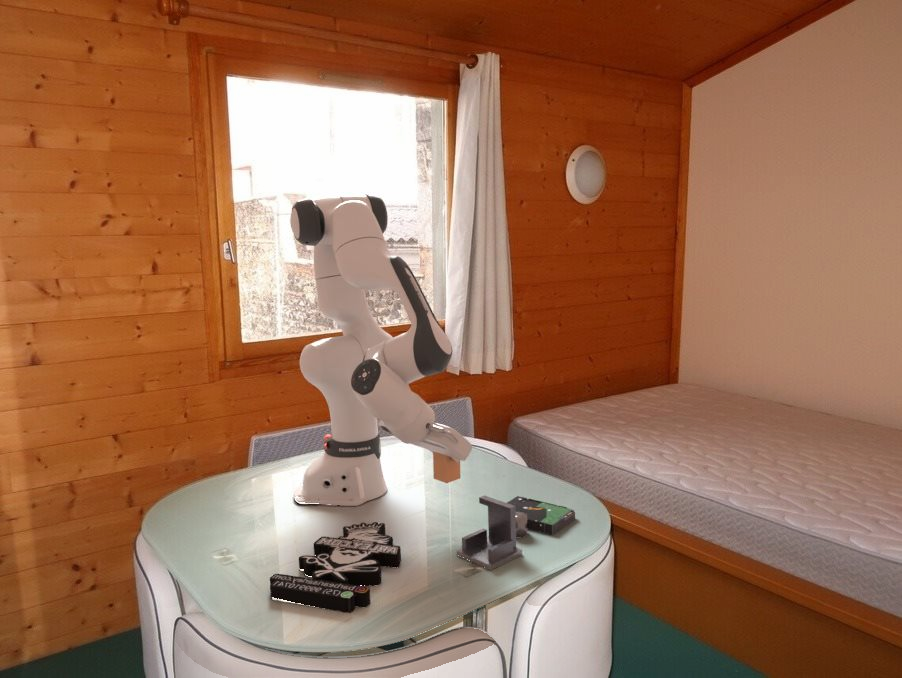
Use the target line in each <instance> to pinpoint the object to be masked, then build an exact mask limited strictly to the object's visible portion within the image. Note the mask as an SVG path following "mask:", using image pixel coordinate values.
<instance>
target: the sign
mask: <svg viewBox="0 0 902 678" xmlns="http://www.w3.org/2000/svg"><path fill="white" fill-rule="evenodd" d="M342 534H343V535H340V536H338V537H330V536H320V537H319V538H318V539H316V540H315V541H314V542H313V555H308V554H307V555H306V554H305V555H300V556H298V565H299V566H298V567H299V568H300V569H304V572H303V574H304V573H305V574H306V575H308V576H312V578H308V577H301V576H296V575H289V574H283V573H274V574H273V575H271V576H270V577H269V590H270V592H269V593H270V598H271V597H274V598H277V599H278V598H279V599H283V600H287V601H291V602H295V603H301V604H304V605H310V606H315V607H319V608H318V609H322V608H325V609H324V610H328V609H329V611H333V612H334V611H335V612H342V613H344V614H347V613H348V614H352V612H354V611H355V609H356V606H358V607H357V608H362V607H365V608H368V607H369V605H371V590H370V586H369V585H372V586H371V587H375V586H374V585H378V586H380V585H381V584H382V582H381V581H383V580H382V567H384V566H386V567H385V568H392V567H396V568H395V569H398V568H400V566H401V563H402V562H401V561H402V553H401V548H402V547H401V546H399V545H394V538H393V536H391V535H387V534H386V524H385V523H384V522H383V523H382V522H381V523H379V522H378V521H375V522H371V523H369V524H368V523H366V522H360V523H359V524H351V525H349V526H348V525H345V526H343V527H342ZM314 555H316V556H314ZM400 562H401V563H400ZM388 566H389V567H388ZM397 567H398V568H397ZM380 583H381V584H380ZM379 584H380V585H379ZM360 585H362V586H360ZM364 585H365V586H364ZM315 607H314V608H315Z"/></svg>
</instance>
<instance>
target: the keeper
mask: <svg viewBox="0 0 902 678" xmlns="http://www.w3.org/2000/svg"><path fill="white" fill-rule="evenodd" d="M478 500H479V501H478V503H479V504H480V505H483V506H487V516H488V517H487V519H488V520H487V521H488V523H487V524H488V525H487V527H488V529H486V528H481V529H478V530H476V531H474V532H472V533H470V534H467V535H466V536H463V537H461V548H460V549H457V551H456V556H457V555H459V556H461V557H464V558H465V559H464V560H466V559H468V560H470V561H472V562H474V563H473V564H475V563H476V564H475V565H477V564H478V565H477V566H479V565H480V566H479V567H481V566H483V567H482V568H484V567H485V568H484V569H486V568H487V570H488V569H489V570H488V571H490V570H491V571H492V569H493V570H494V568H495V569H497V568H498V566H499V567H500V565H501V566H502V564H503V565H504V563H505V564H506V562H507V563H508V562H510V561H512V560H514V559H517V558H518V557H521V556H522V555H523V549H522V548H519V547H517V538H516V506H514V505H511V504H508V503H507V502H505V501H501V500H499V499H497V498H496V499H495V498H492V497H490V496H487V495H481V496H480V497H478ZM459 556H458V557H459ZM461 557H460V558H461ZM468 560H467V561H468ZM470 561H469V562H470ZM472 562H471V563H472ZM496 567H497V568H496Z"/></svg>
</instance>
